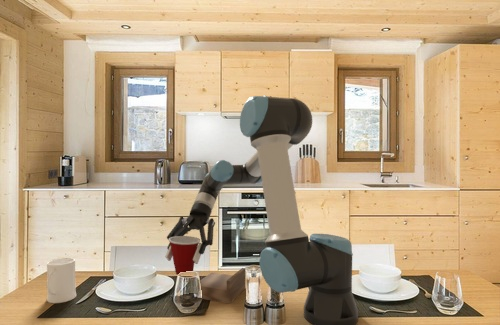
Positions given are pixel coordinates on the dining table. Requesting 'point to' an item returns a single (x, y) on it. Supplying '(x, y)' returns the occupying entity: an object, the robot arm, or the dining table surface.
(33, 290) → the dining table surface
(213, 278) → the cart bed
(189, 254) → the plastic cup
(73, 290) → the mug
